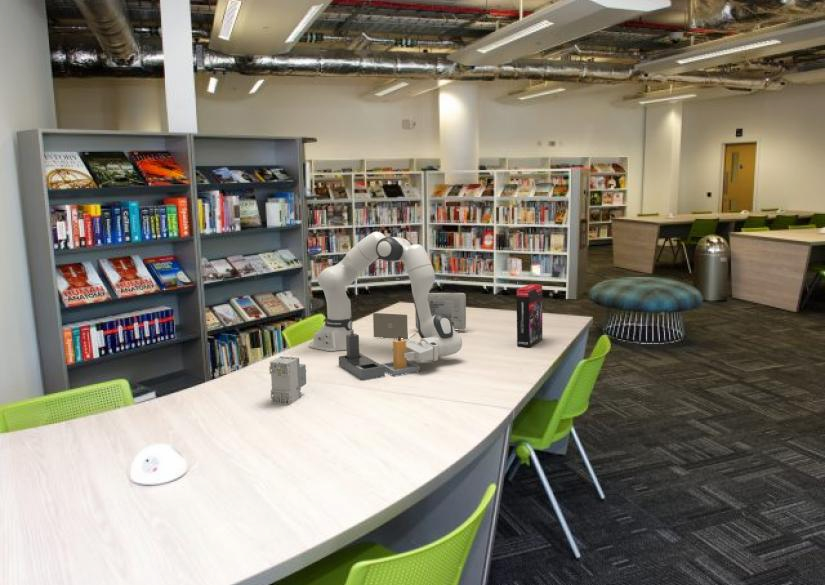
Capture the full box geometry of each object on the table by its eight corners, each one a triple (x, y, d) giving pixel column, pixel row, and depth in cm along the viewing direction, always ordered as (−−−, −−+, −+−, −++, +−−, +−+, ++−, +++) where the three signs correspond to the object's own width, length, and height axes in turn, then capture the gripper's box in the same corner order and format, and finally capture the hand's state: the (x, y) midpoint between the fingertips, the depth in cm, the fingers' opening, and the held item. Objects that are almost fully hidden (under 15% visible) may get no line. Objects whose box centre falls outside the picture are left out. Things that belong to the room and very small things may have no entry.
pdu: (338, 365, 275) (338, 356, 275) (360, 362, 280) (360, 352, 279) (362, 380, 255) (361, 370, 254) (384, 376, 259) (384, 366, 259)
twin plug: (347, 362, 274) (345, 329, 272) (356, 360, 276) (355, 328, 274) (350, 364, 272) (348, 330, 269) (359, 362, 274) (358, 329, 271)
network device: (466, 330, 335) (465, 292, 331) (465, 334, 326) (465, 295, 323) (416, 330, 337) (416, 292, 334) (415, 333, 329) (414, 295, 325)
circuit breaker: (309, 392, 242) (307, 353, 239) (289, 404, 229) (287, 363, 226) (291, 390, 244) (289, 351, 242) (271, 402, 231) (269, 362, 228)
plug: (393, 368, 267) (392, 334, 265) (403, 367, 269) (402, 333, 267) (397, 370, 265) (396, 336, 262) (406, 369, 267) (405, 335, 264)
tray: (380, 368, 269) (380, 363, 269) (406, 364, 275) (406, 359, 275) (393, 376, 259) (393, 371, 259) (419, 371, 265) (419, 366, 264)
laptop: (415, 334, 328) (415, 309, 326) (407, 340, 317) (407, 314, 314) (382, 332, 334) (382, 307, 332) (373, 338, 322) (372, 312, 320)
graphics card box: (529, 348, 297) (530, 290, 292) (515, 346, 301) (515, 289, 296) (542, 340, 311) (543, 284, 307) (529, 338, 315) (530, 283, 310)
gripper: (415, 335, 280) (386, 340, 274) (439, 346, 263) (409, 350, 256) (415, 349, 281) (387, 354, 275) (439, 361, 264) (409, 366, 257)
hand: (398, 352), depth 265 cm, fingers open, 8 cm apart
